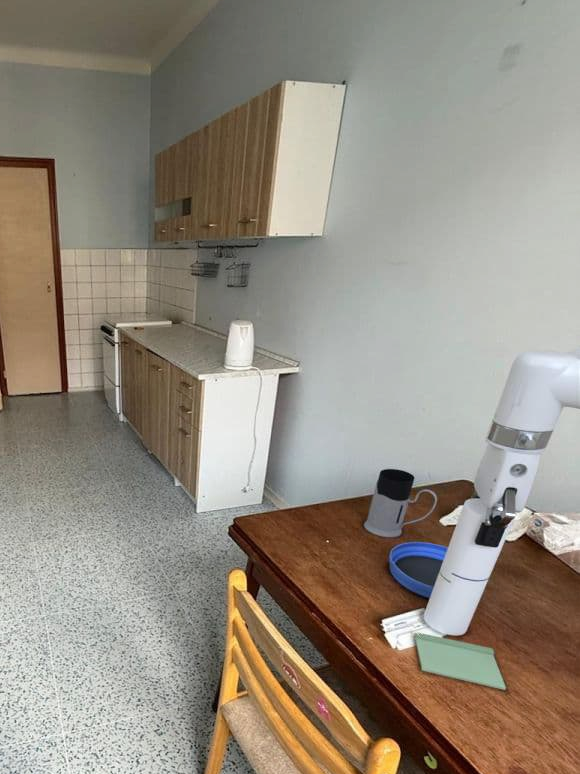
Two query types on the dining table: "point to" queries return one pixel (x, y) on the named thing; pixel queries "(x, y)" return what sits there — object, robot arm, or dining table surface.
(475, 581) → the cylindrical container
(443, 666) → the green flat panel
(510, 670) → the dining table surface
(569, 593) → the dining table surface
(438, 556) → the bowl
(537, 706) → the dining table surface
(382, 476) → the glass holder
